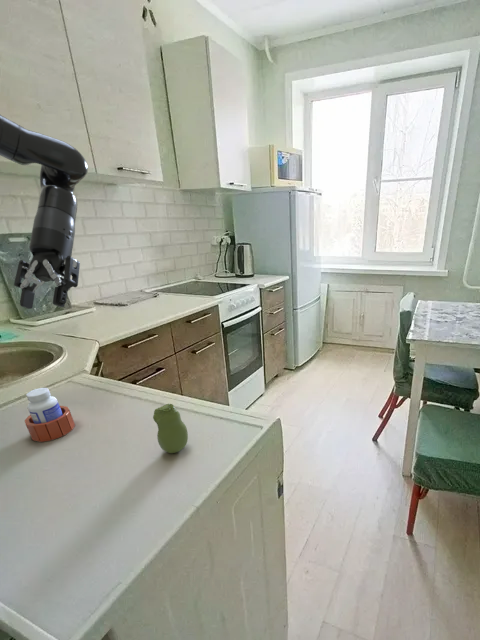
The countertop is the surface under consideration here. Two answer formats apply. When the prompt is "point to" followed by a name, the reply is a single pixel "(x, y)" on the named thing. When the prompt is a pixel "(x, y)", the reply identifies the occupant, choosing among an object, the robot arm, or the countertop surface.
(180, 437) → the pear
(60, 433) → the ring holder
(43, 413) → the pill bottle
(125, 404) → the countertop surface
